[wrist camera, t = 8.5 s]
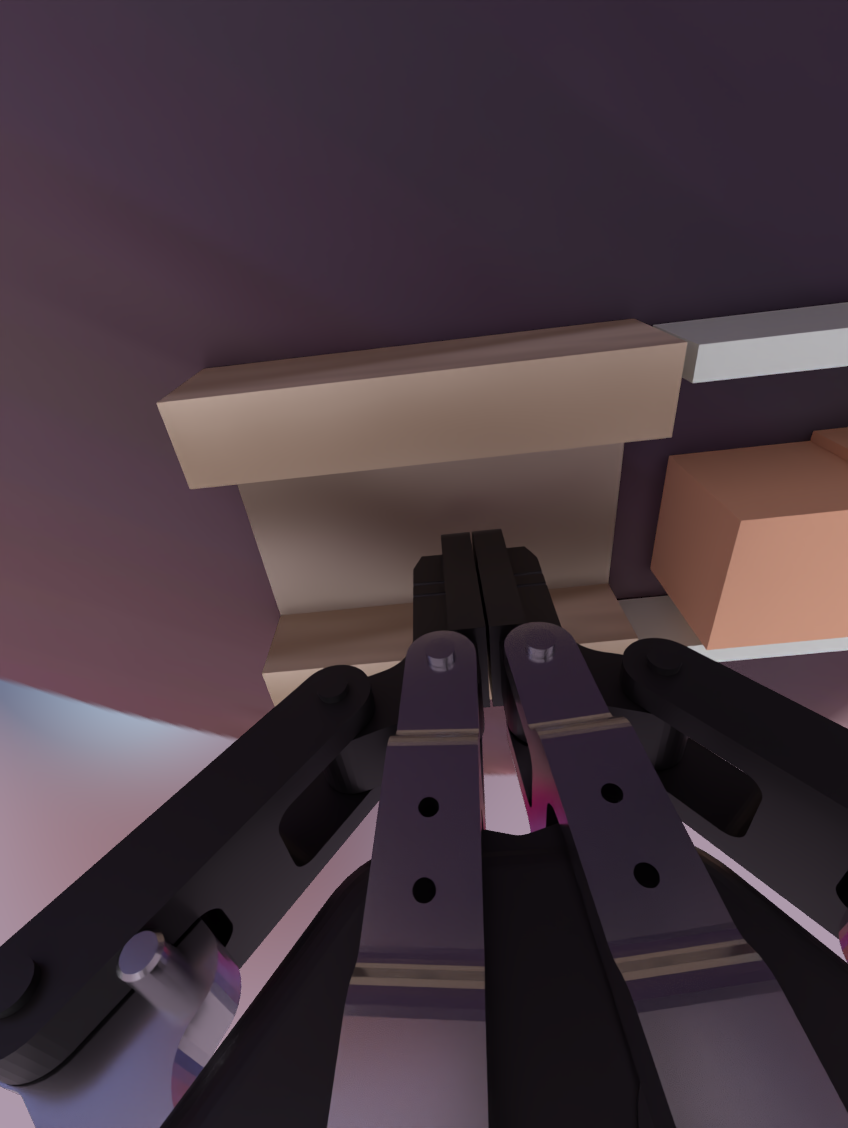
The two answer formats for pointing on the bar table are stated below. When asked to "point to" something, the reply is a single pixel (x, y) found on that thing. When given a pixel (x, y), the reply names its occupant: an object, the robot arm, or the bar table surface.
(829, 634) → the pink cube
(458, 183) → the bar table surface
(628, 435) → the slot track
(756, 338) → the grey u-shaped frame
